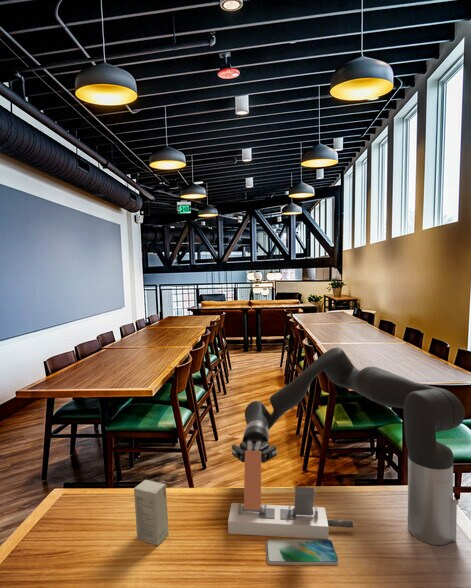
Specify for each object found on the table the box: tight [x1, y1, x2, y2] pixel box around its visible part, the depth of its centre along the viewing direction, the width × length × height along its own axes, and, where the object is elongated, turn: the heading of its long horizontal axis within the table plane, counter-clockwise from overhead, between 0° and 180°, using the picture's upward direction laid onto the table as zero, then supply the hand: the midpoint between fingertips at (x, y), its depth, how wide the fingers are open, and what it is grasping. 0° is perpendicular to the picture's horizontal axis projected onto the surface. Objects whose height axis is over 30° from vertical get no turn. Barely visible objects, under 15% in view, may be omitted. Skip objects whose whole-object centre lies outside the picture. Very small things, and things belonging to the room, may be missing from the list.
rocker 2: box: [293, 486, 316, 516], centre depth 86 cm, size 5×2×14 cm
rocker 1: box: [242, 450, 263, 512], centre depth 94 cm, size 5×2×14 cm, turn 84°
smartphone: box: [265, 538, 340, 566], centre depth 83 cm, size 7×1×15 cm
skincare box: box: [133, 479, 169, 546], centre depth 88 cm, size 6×4×12 cm
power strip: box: [227, 502, 354, 539], centre depth 91 cm, size 29×7×5 cm, turn 84°
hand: (251, 466), depth 96 cm, fingers closed
